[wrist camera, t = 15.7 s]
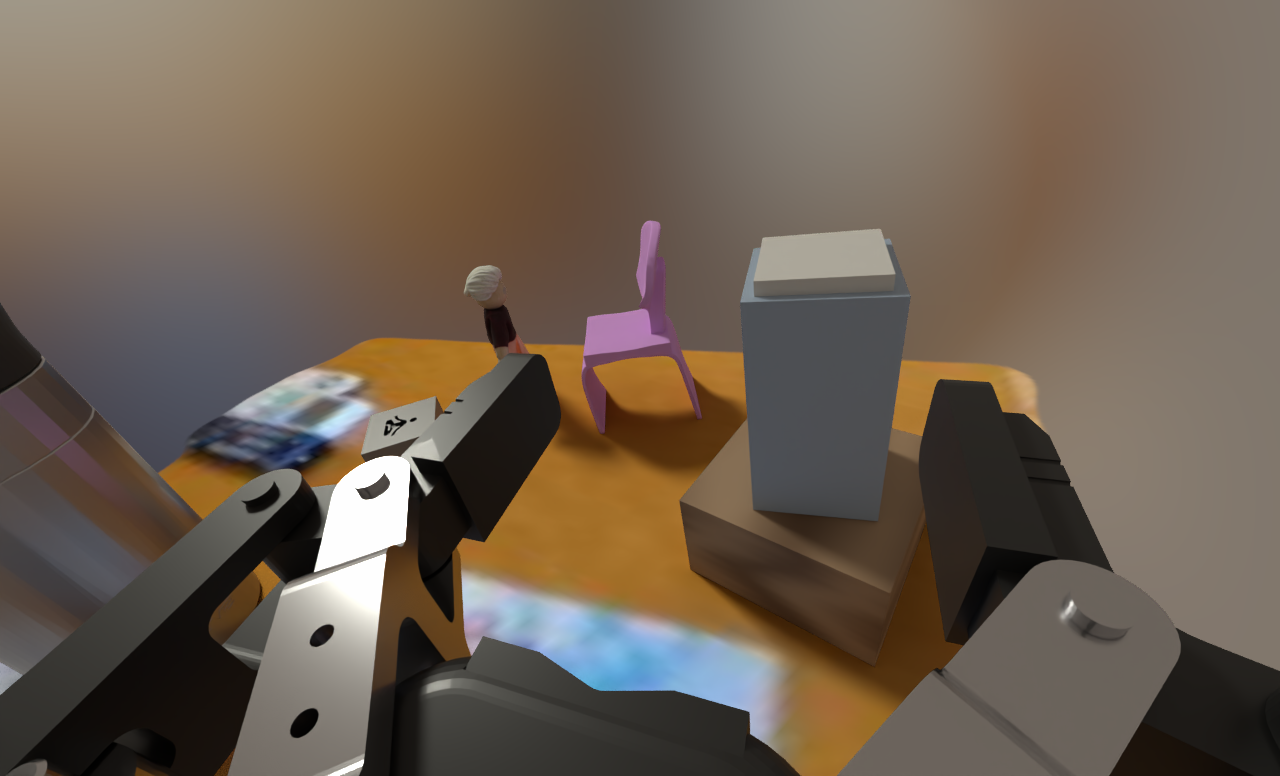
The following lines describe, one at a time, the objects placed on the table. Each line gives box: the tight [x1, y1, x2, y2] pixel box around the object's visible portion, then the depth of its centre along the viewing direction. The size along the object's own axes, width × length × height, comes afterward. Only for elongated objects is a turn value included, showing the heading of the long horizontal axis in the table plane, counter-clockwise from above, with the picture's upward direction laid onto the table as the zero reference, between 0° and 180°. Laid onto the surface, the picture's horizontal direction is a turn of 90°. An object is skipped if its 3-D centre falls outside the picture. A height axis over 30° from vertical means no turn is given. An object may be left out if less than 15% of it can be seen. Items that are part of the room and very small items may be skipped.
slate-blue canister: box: [740, 229, 911, 521], centre depth 22 cm, size 6×6×12 cm
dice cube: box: [361, 396, 444, 463], centre depth 38 cm, size 5×5×5 cm
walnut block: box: [679, 419, 926, 667], centre depth 27 cm, size 10×10×6 cm
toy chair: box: [582, 221, 702, 434], centre depth 38 cm, size 8×9×15 cm
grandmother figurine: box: [464, 266, 529, 363], centre depth 43 cm, size 8×4×13 cm, turn 26°
